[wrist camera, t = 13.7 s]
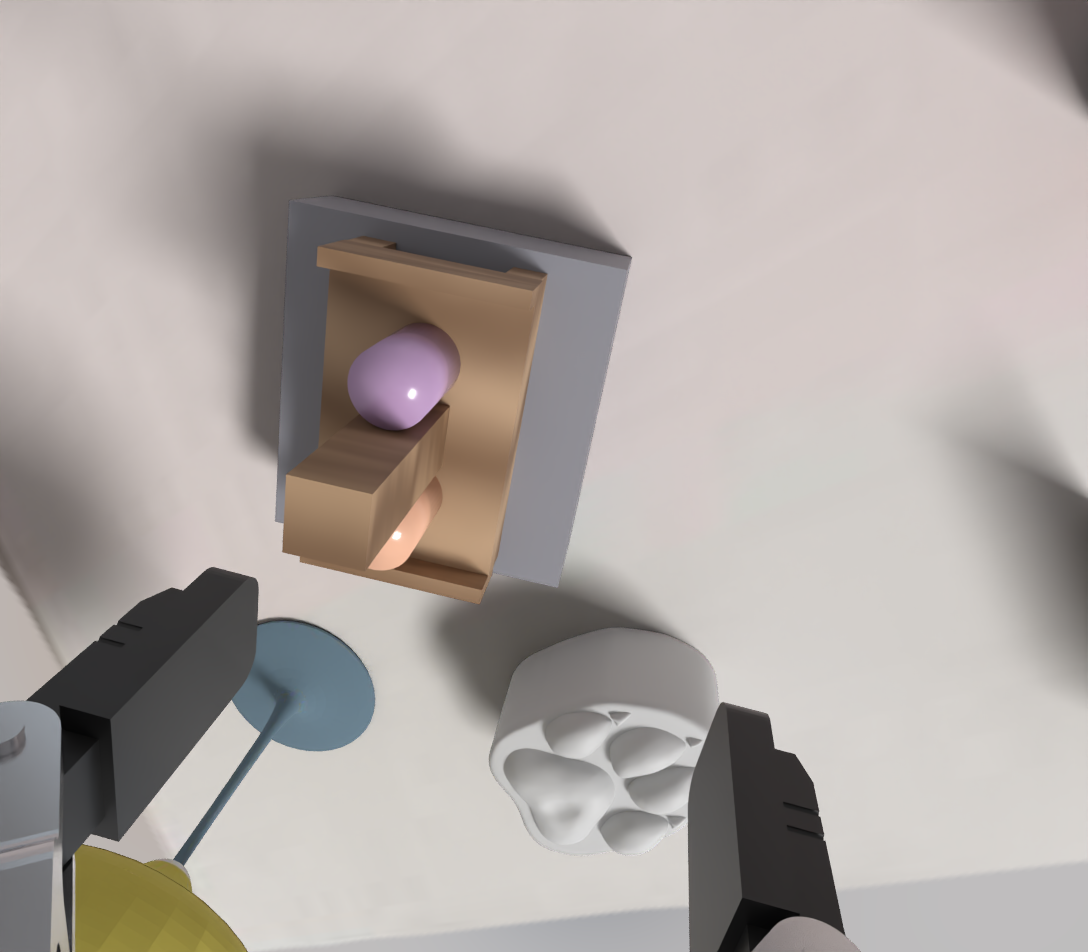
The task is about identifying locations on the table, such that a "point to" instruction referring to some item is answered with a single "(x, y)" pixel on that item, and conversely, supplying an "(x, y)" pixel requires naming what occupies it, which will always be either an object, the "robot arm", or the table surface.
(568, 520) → the plain gray square box
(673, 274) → the table surface
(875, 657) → the table surface
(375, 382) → the lilac rounded capsule
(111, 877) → the cocktail glass
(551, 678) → the lumpy-topped squat cylinder
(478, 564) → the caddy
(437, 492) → the peach glossy rounded part
